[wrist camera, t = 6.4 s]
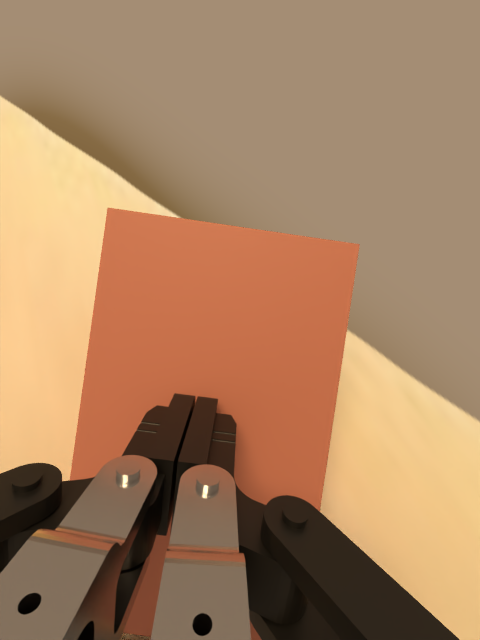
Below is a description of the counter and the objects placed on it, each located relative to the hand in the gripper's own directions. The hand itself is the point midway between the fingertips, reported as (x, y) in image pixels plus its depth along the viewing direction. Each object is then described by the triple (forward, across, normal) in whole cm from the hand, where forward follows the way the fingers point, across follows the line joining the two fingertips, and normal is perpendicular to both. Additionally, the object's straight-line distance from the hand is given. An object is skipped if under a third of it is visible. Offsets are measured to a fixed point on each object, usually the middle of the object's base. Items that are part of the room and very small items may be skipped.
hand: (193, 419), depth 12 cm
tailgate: (-1, 0, +8) cm, 8 cm away
